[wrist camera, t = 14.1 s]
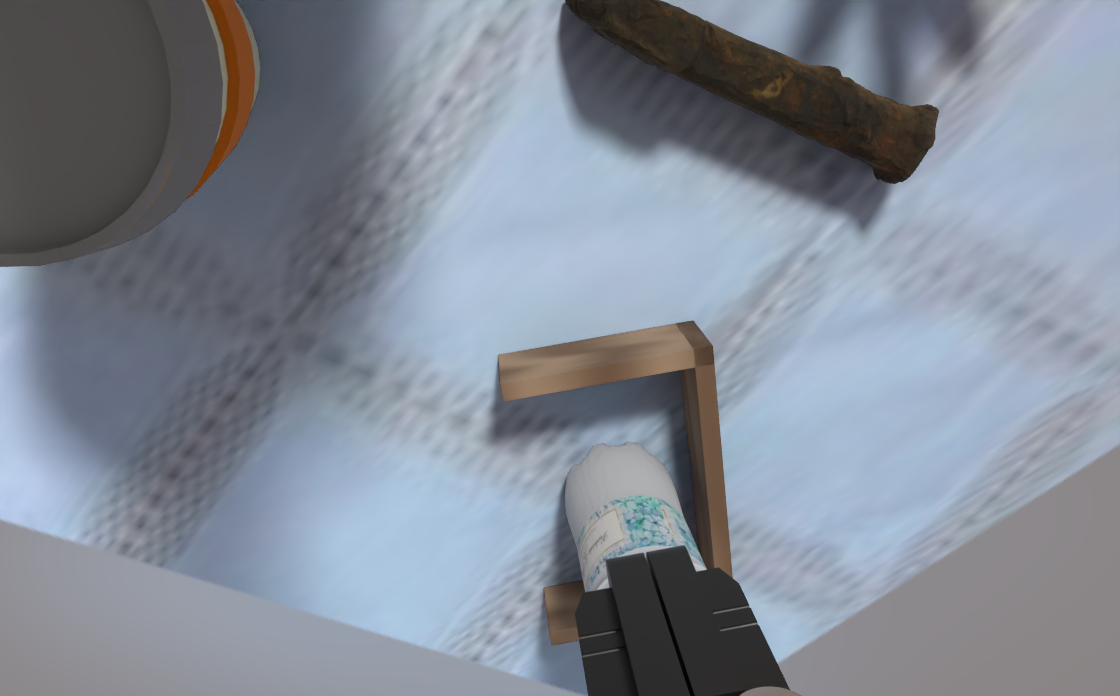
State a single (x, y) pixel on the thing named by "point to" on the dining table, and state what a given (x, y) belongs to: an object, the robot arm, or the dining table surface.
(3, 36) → the reusable coffee cup
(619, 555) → the bottle
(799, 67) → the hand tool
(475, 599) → the dining table surface
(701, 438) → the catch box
